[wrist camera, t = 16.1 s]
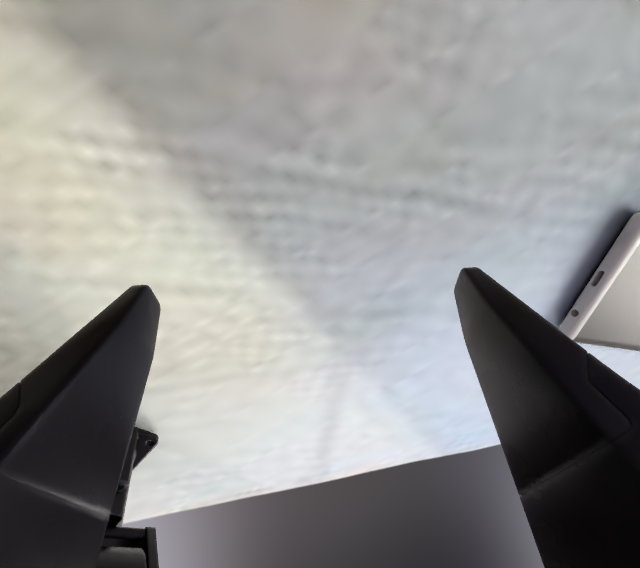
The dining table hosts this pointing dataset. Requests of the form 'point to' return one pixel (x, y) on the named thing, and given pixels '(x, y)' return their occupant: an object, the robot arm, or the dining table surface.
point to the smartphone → (611, 297)
